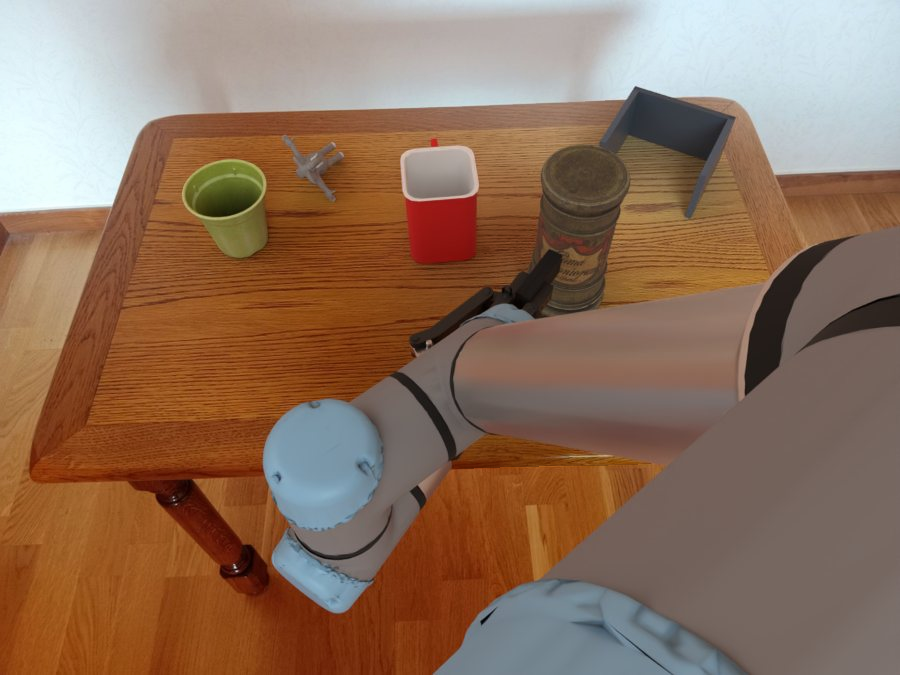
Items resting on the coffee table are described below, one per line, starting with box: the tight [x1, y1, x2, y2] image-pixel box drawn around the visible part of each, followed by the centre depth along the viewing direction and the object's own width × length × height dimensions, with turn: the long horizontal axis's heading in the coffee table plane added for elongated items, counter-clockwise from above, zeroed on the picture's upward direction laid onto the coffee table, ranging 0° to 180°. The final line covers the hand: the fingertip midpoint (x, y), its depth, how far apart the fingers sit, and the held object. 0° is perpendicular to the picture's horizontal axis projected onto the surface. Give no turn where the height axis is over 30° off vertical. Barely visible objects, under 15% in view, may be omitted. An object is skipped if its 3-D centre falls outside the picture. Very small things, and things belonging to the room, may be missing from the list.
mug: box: [399, 137, 480, 265], centre depth 82 cm, size 12×8×11 cm
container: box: [526, 144, 631, 317], centre depth 74 cm, size 9×9×18 cm
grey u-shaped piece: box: [598, 85, 737, 219], centre depth 89 cm, size 12×13×7 cm
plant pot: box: [181, 158, 269, 259], centre depth 83 cm, size 9×9×9 cm
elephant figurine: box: [281, 133, 345, 203], centre depth 90 cm, size 10×6×9 cm
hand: (554, 260), depth 72 cm, fingers closed
